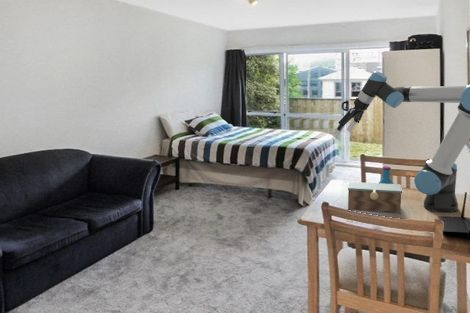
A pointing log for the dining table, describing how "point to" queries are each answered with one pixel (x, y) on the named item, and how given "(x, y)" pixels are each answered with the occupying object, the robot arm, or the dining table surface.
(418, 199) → the dining table surface
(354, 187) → the box lid
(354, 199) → the storage box
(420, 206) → the dining table surface
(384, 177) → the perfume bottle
